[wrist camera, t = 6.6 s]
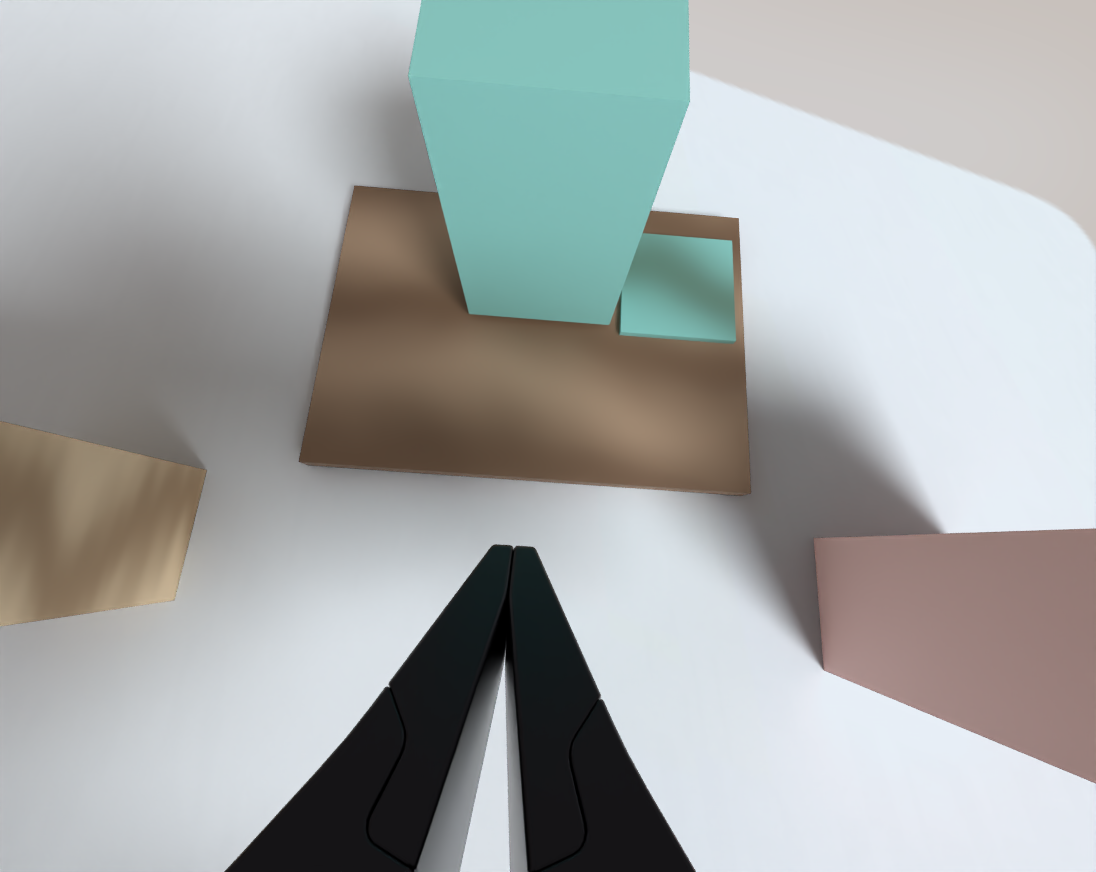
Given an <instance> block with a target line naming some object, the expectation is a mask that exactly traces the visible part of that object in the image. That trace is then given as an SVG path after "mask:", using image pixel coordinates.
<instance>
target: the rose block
mask: <svg viewBox="0 0 1096 872" xmlns="http://www.w3.org/2000/svg"><path fill="white" fill-rule="evenodd" d="M814 549H815V562H816V575H817V588H818V601H819V614H820V627H821V640H822V653H823V667H824V671H827V672H829V673H832V674H834V675H836V676H839V677H841V678H844V679H846V680H848V681H851V682H853V683H856V684H858V685H860V686H863V687H865V688H868V689H870V690H872V691H875V692H877V693H880V694H882V695H884V696H887V697H889V698H892V699H894V700H896V701H899V702H901V703H904V704H906V705H908V706H911V707H913V708H916V709H918V710H921V711H923V712H925V713H928V714H930V715H933V716H935V717H937V718H940V719H942V720H945V721H947V722H949V723H952V724H954V725H957V726H959V727H961V728H964V729H966V730H969V731H971V732H973V733H976V734H978V735H981V736H983V737H985V738H988V739H990V740H993V741H995V742H997V743H1000V744H1002V745H1005V746H1007V747H1009V748H1012V749H1014V750H1017V751H1019V752H1021V753H1024V754H1026V755H1029V756H1031V757H1034V758H1036V759H1038V760H1041V761H1043V762H1046V763H1048V764H1050V765H1053V766H1055V767H1058V768H1060V769H1062V770H1065V771H1067V772H1070V773H1072V774H1074V775H1077V776H1079V777H1082V778H1084V779H1086V780H1089V781H1091V782H1094V783H1096V529H1068V530H1039V531H1009V532H979V533H950V534H920V535H890V536H861V537H831V538H814Z"/></svg>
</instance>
